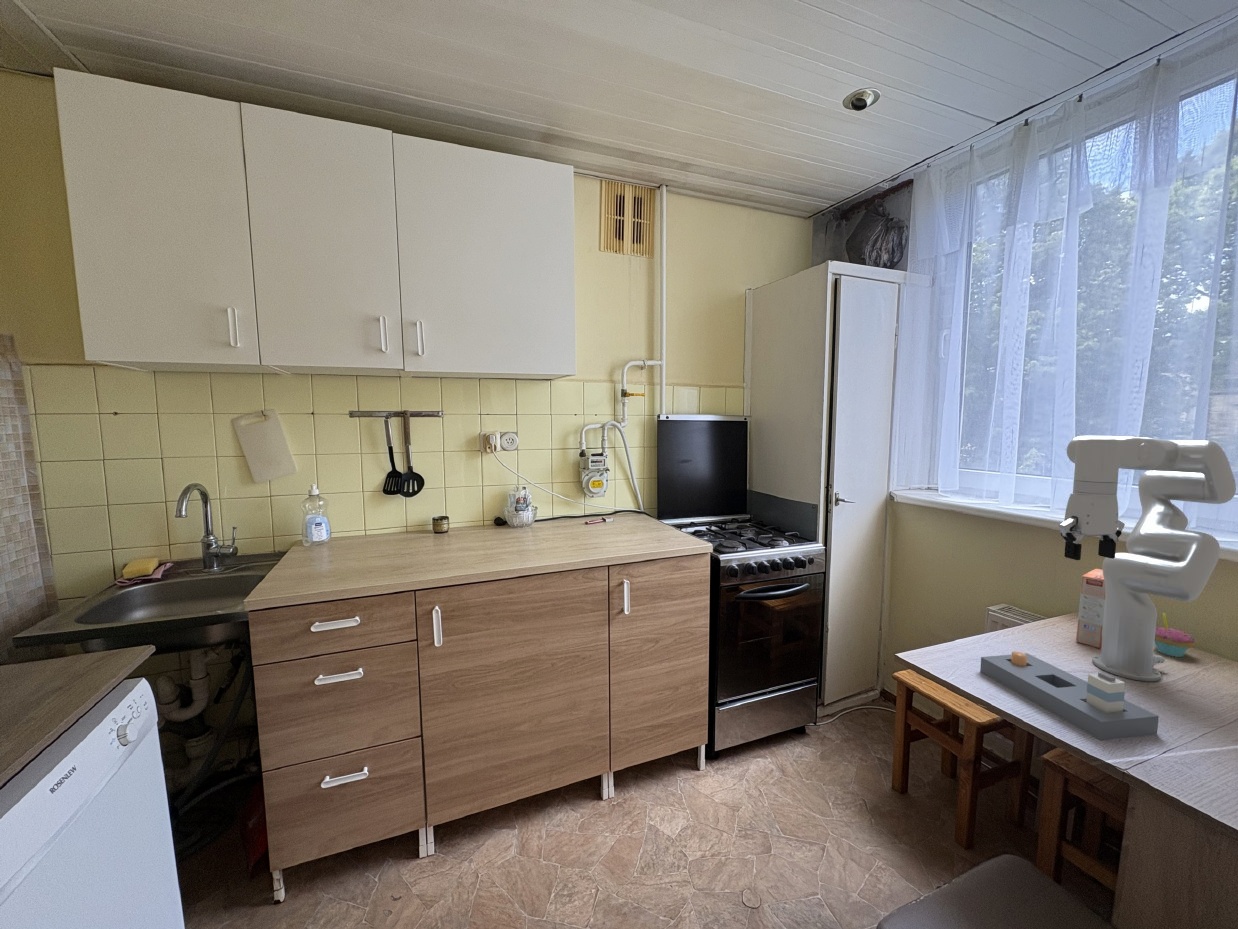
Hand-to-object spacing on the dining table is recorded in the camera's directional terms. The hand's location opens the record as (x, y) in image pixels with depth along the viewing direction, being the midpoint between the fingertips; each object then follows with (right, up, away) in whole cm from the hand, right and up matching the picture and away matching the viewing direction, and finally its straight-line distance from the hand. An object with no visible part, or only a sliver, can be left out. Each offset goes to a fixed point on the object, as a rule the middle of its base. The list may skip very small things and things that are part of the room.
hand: (1089, 557), depth 116 cm
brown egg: (-12, -32, +7) cm, 35 cm away
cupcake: (+44, -32, +21) cm, 58 cm away
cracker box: (+31, -31, +29) cm, 53 cm away
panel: (-10, -34, -3) cm, 35 cm away
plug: (-9, -34, -12) cm, 37 cm away
